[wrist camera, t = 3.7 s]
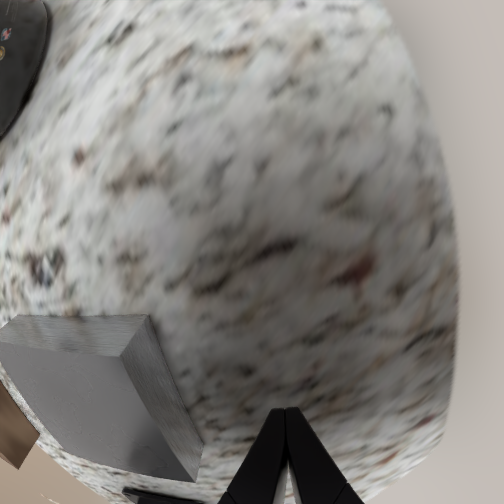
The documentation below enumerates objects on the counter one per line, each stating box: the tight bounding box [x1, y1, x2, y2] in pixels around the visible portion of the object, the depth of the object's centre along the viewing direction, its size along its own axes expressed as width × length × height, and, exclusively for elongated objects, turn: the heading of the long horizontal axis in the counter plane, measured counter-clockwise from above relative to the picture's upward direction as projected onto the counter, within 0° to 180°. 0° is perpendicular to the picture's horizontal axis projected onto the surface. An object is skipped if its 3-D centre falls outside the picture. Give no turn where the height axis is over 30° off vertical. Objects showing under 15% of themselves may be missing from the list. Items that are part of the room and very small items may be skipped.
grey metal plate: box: [0, 314, 203, 483], centre depth 9 cm, size 7×7×2 cm
